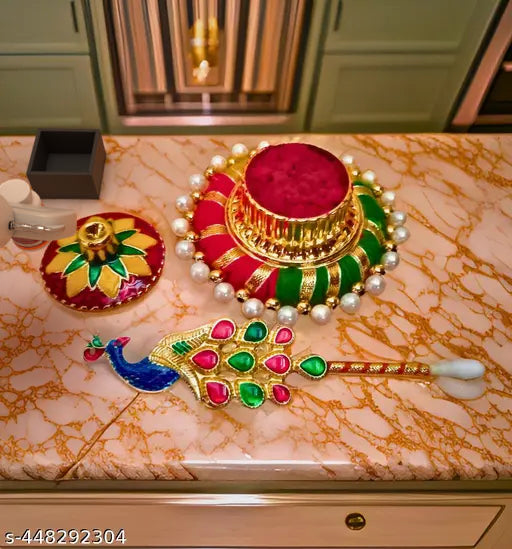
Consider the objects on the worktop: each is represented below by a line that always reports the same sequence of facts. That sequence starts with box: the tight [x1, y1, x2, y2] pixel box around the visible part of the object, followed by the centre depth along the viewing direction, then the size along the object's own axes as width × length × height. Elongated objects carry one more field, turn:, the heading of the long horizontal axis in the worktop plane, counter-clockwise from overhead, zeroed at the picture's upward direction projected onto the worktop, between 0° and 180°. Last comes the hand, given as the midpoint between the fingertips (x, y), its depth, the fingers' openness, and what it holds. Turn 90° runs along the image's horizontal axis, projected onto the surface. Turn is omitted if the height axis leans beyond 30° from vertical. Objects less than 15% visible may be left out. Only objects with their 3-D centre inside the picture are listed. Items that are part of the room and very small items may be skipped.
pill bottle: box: [0, 178, 52, 253], centre depth 87 cm, size 6×6×11 cm
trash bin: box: [25, 127, 107, 200], centre depth 118 cm, size 13×13×7 cm
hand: (24, 210), depth 87 cm, fingers closed on pill bottle, 6 cm apart
